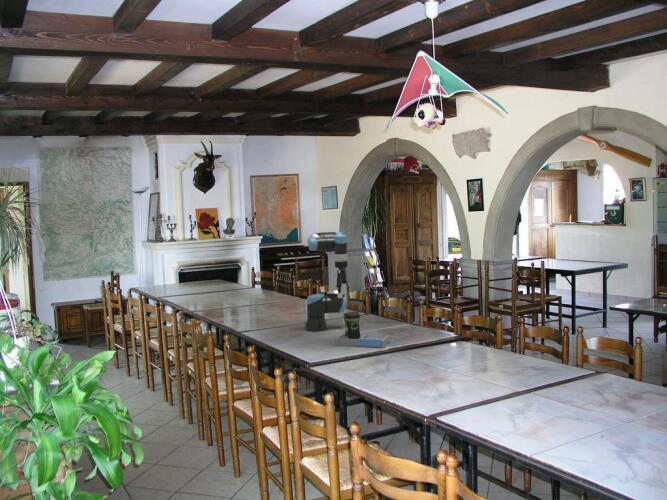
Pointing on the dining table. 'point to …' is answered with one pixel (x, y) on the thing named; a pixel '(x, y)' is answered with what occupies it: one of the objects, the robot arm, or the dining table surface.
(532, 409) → the dining table surface
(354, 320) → the coffee jar
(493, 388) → the dining table surface
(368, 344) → the divided storage rack
